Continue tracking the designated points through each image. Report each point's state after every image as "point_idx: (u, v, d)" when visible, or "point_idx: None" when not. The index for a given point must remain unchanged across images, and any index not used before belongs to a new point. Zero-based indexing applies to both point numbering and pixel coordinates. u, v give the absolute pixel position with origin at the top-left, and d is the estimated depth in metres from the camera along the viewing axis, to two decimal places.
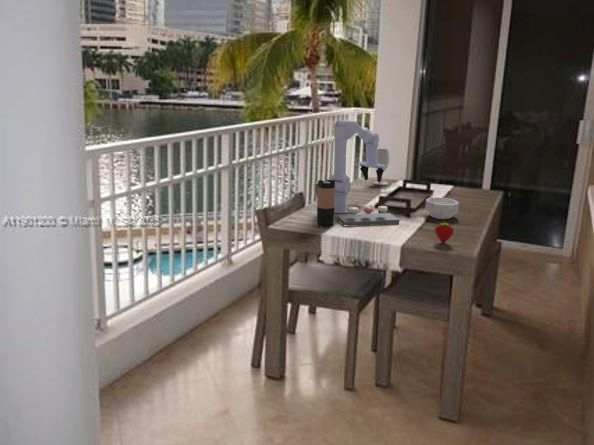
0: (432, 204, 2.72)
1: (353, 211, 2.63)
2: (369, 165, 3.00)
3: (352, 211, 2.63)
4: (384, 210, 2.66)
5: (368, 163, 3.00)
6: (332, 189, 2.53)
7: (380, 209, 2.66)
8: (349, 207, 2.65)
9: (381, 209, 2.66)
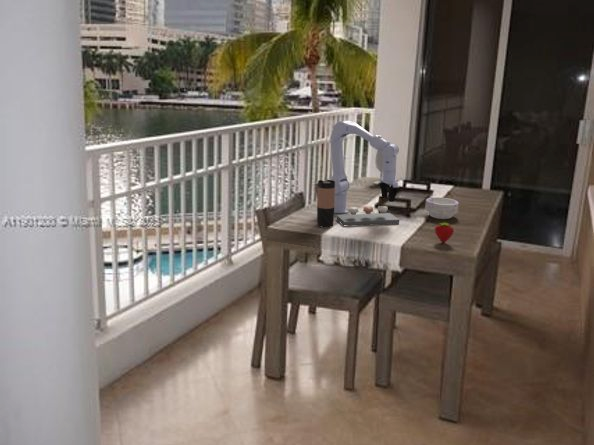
0: (432, 204, 2.72)
1: (353, 211, 2.63)
2: (383, 180, 2.66)
3: (352, 211, 2.63)
4: (384, 210, 2.66)
5: (383, 178, 2.66)
6: (332, 189, 2.53)
7: (380, 209, 2.66)
8: (349, 207, 2.65)
9: (381, 209, 2.66)
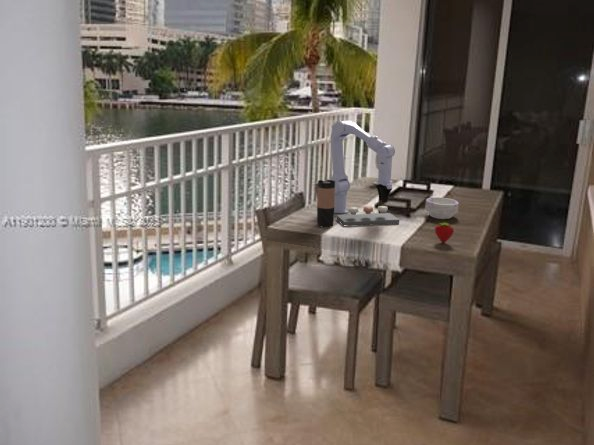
0: (432, 204, 2.72)
1: (353, 211, 2.63)
2: (378, 181, 2.63)
3: (352, 211, 2.63)
4: (384, 210, 2.66)
5: (378, 179, 2.64)
6: (332, 189, 2.53)
7: (380, 209, 2.66)
8: (349, 207, 2.65)
9: (381, 209, 2.66)
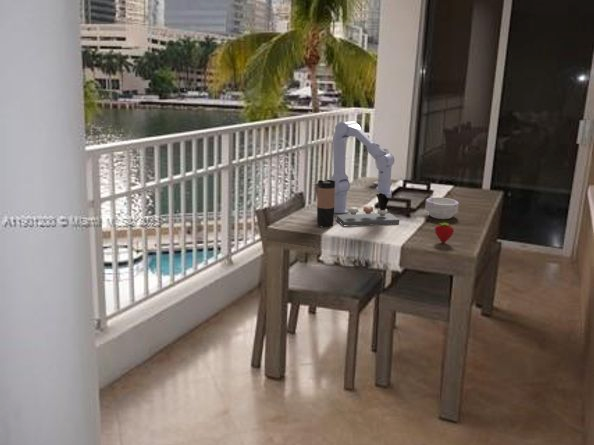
0: (432, 204, 2.72)
1: (353, 211, 2.63)
2: (377, 190, 2.65)
3: (352, 211, 2.63)
4: (384, 213, 2.66)
5: (377, 187, 2.65)
6: (332, 189, 2.53)
7: (380, 212, 2.66)
8: (349, 207, 2.65)
9: (381, 211, 2.66)
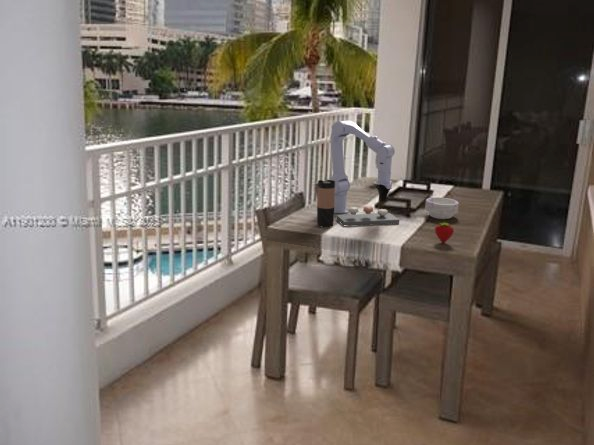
0: (432, 204, 2.72)
1: (353, 211, 2.63)
2: (377, 181, 2.63)
3: (352, 211, 2.63)
4: (384, 213, 2.66)
5: (377, 179, 2.64)
6: (332, 189, 2.53)
7: (380, 212, 2.66)
8: (349, 207, 2.65)
9: (381, 212, 2.66)
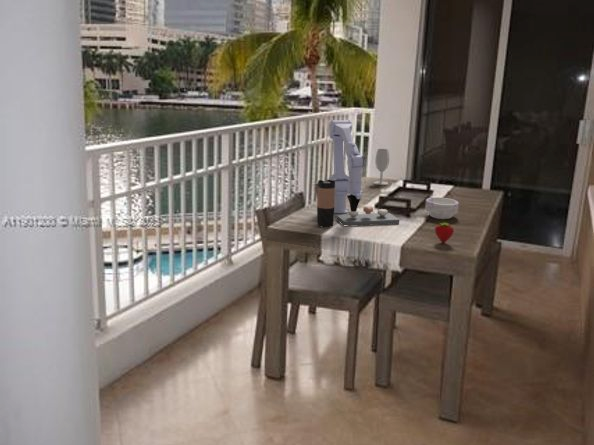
0: (432, 204, 2.72)
1: (353, 214, 2.63)
2: (348, 191, 2.62)
3: (352, 214, 2.63)
4: (384, 213, 2.66)
5: (348, 189, 2.62)
6: (332, 189, 2.53)
7: (380, 212, 2.66)
8: (349, 210, 2.66)
9: (381, 212, 2.66)
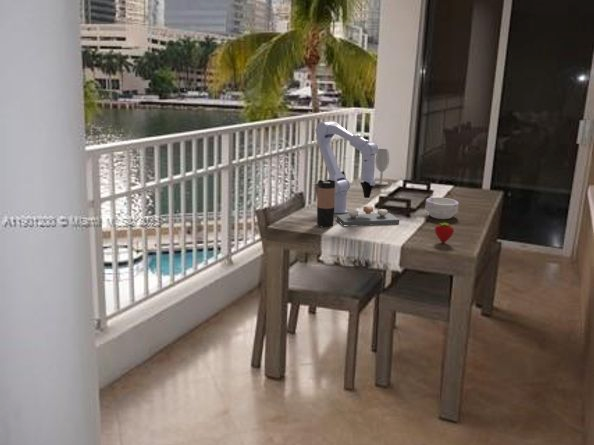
0: (432, 204, 2.72)
1: (353, 214, 2.63)
2: (361, 178, 2.70)
3: (352, 214, 2.63)
4: (384, 213, 2.66)
5: (361, 176, 2.70)
6: (332, 189, 2.53)
7: (380, 212, 2.66)
8: None
9: (381, 212, 2.66)
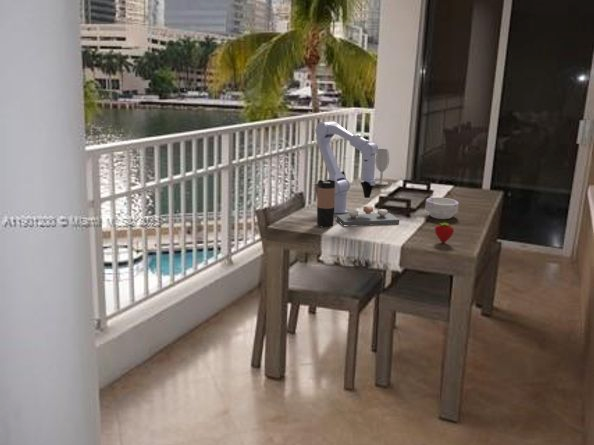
0: (432, 204, 2.72)
1: (353, 214, 2.63)
2: (362, 178, 2.70)
3: (352, 214, 2.63)
4: (384, 213, 2.66)
5: (362, 176, 2.70)
6: (332, 189, 2.53)
7: (380, 212, 2.66)
8: None
9: (381, 212, 2.66)
